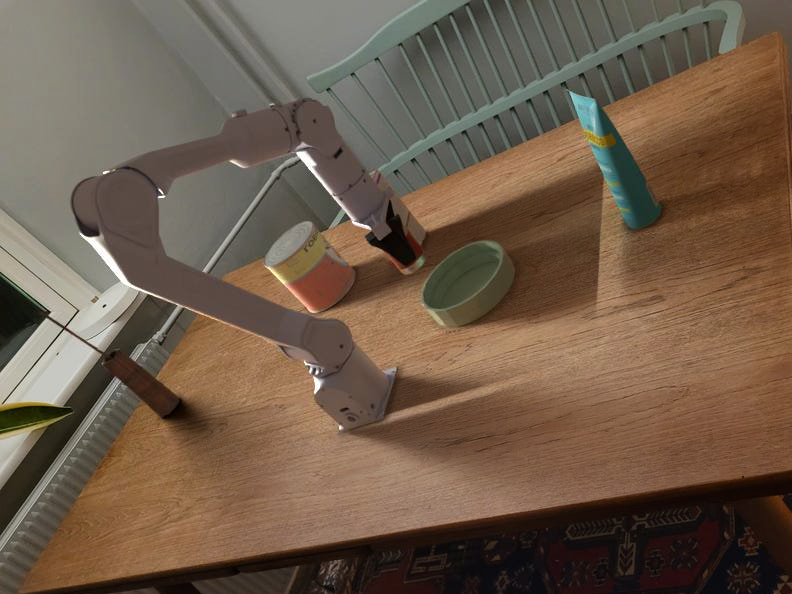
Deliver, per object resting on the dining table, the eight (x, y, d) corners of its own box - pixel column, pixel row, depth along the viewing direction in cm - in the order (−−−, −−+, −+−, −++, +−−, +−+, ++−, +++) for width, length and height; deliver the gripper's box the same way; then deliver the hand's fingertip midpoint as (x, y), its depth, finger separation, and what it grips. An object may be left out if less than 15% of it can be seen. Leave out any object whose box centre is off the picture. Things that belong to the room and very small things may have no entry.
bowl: (511, 312, 95) (496, 292, 93) (427, 341, 102) (412, 322, 100) (522, 247, 104) (508, 227, 102) (445, 277, 111) (430, 259, 109)
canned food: (360, 283, 126) (316, 234, 119) (311, 322, 127) (265, 275, 120) (350, 260, 135) (308, 213, 128) (304, 296, 136) (261, 251, 129)
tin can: (423, 268, 100) (399, 237, 97) (398, 278, 103) (373, 249, 99) (430, 248, 103) (406, 217, 100) (405, 258, 105) (381, 228, 102)
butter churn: (200, 382, 137) (76, 282, 120) (174, 422, 132) (40, 323, 115) (174, 387, 142) (52, 292, 125) (148, 426, 137) (17, 332, 120)
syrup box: (427, 231, 125) (377, 166, 116) (422, 251, 121) (370, 186, 112) (401, 243, 127) (351, 181, 119) (396, 263, 123) (343, 200, 115)
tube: (615, 221, 96) (550, 102, 84) (642, 198, 96) (580, 75, 84) (647, 236, 90) (582, 110, 78) (676, 212, 90) (615, 82, 78)
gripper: (380, 179, 87) (441, 257, 96) (362, 148, 99) (418, 220, 107) (336, 213, 88) (400, 288, 96) (323, 179, 100) (381, 248, 108)
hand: (407, 254), depth 102 cm, fingers closed on tin can, 4 cm apart
